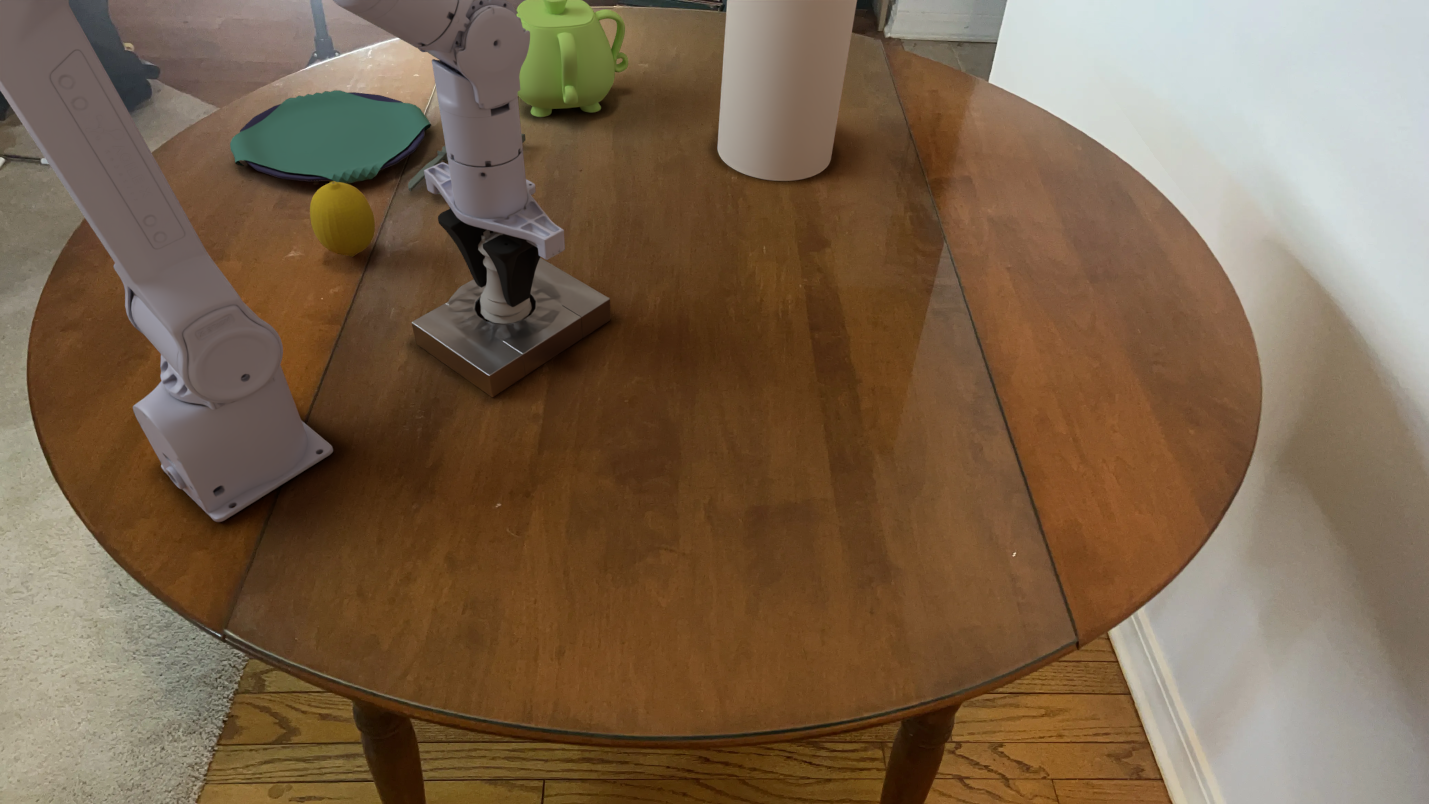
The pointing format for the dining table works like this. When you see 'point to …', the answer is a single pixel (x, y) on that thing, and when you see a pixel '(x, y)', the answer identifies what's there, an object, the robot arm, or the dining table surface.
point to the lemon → (342, 218)
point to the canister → (782, 85)
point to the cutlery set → (333, 137)
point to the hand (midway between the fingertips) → (503, 291)
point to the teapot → (568, 55)
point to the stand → (511, 329)
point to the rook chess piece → (498, 293)
